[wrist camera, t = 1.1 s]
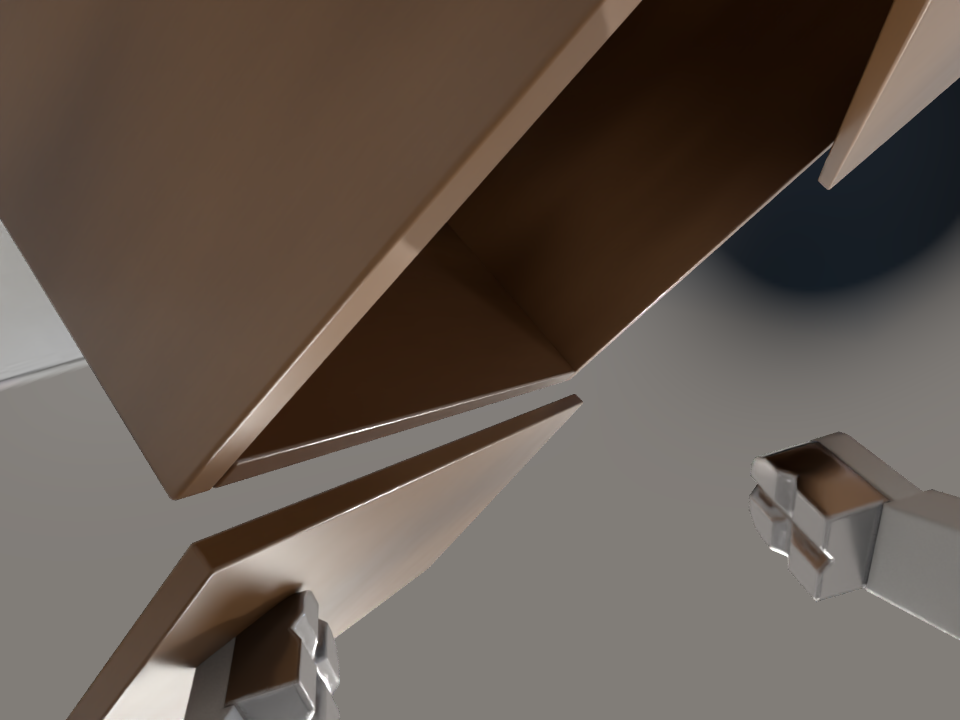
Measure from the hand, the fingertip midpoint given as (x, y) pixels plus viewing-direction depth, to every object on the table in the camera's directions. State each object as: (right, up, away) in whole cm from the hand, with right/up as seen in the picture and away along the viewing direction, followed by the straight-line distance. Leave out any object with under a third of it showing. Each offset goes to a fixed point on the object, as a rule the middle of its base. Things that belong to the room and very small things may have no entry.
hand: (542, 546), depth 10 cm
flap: (-3, -2, +4) cm, 5 cm away
